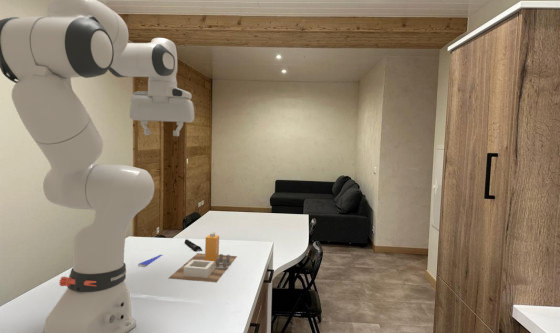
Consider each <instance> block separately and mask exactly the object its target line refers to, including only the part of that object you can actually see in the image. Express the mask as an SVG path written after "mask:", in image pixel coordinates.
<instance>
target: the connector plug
mask: <svg viewBox="0 0 560 333" xmlns="http://www.w3.org/2000/svg"><path fill="white" fill-rule="evenodd" d="M204 254H205V261H215V262H216V258H219V255H220V235H216V232H213V231H212V232H210V234H208V235H206V236H205V249H204Z"/></svg>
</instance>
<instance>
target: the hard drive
mask: <svg viewBox="0 0 560 333" xmlns="http://www.w3.org/2000/svg"><path fill="white" fill-rule="evenodd" d="M162 256H163V254H159V255H157V256H154V257H152V258H149V259H146V260H144V261H142V262H139V263H138V264H137V266H138V267H140V268H147V266H149V265H150V264H151V263H153V262H155V261H157V260H158V259H160V258H161V257H162Z"/></svg>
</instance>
